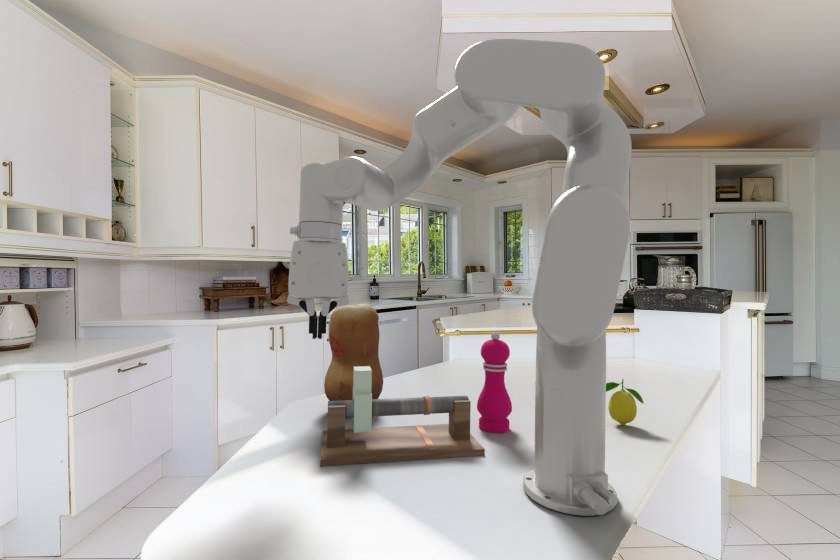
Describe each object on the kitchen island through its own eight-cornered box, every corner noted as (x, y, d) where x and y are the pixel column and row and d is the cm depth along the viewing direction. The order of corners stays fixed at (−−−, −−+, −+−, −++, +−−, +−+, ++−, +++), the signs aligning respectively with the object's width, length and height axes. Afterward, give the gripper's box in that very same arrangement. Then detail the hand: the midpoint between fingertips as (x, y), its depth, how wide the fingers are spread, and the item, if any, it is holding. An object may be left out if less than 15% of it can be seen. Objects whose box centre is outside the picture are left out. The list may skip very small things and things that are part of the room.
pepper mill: (511, 435, 83) (513, 334, 83) (475, 432, 84) (476, 333, 85) (511, 423, 90) (512, 330, 90) (477, 421, 92) (479, 329, 92)
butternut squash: (313, 409, 98) (316, 302, 98) (361, 399, 107) (363, 302, 107) (345, 424, 88) (347, 305, 88) (395, 412, 96) (397, 304, 97)
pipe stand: (484, 454, 73) (485, 405, 73) (320, 466, 67) (321, 412, 67) (460, 427, 87) (461, 386, 87) (322, 435, 81) (323, 390, 81)
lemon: (598, 422, 92) (599, 377, 92) (616, 419, 95) (617, 374, 95) (626, 432, 86) (626, 383, 86) (644, 428, 89) (645, 381, 89)
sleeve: (371, 431, 73) (372, 371, 73) (353, 432, 72) (355, 372, 72) (368, 420, 79) (369, 365, 79) (352, 420, 79) (353, 365, 79)
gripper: (273, 230, 69) (270, 340, 69) (364, 234, 72) (361, 340, 72) (279, 235, 77) (275, 335, 77) (361, 239, 80) (358, 335, 80)
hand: (317, 337), depth 74 cm, fingers closed
